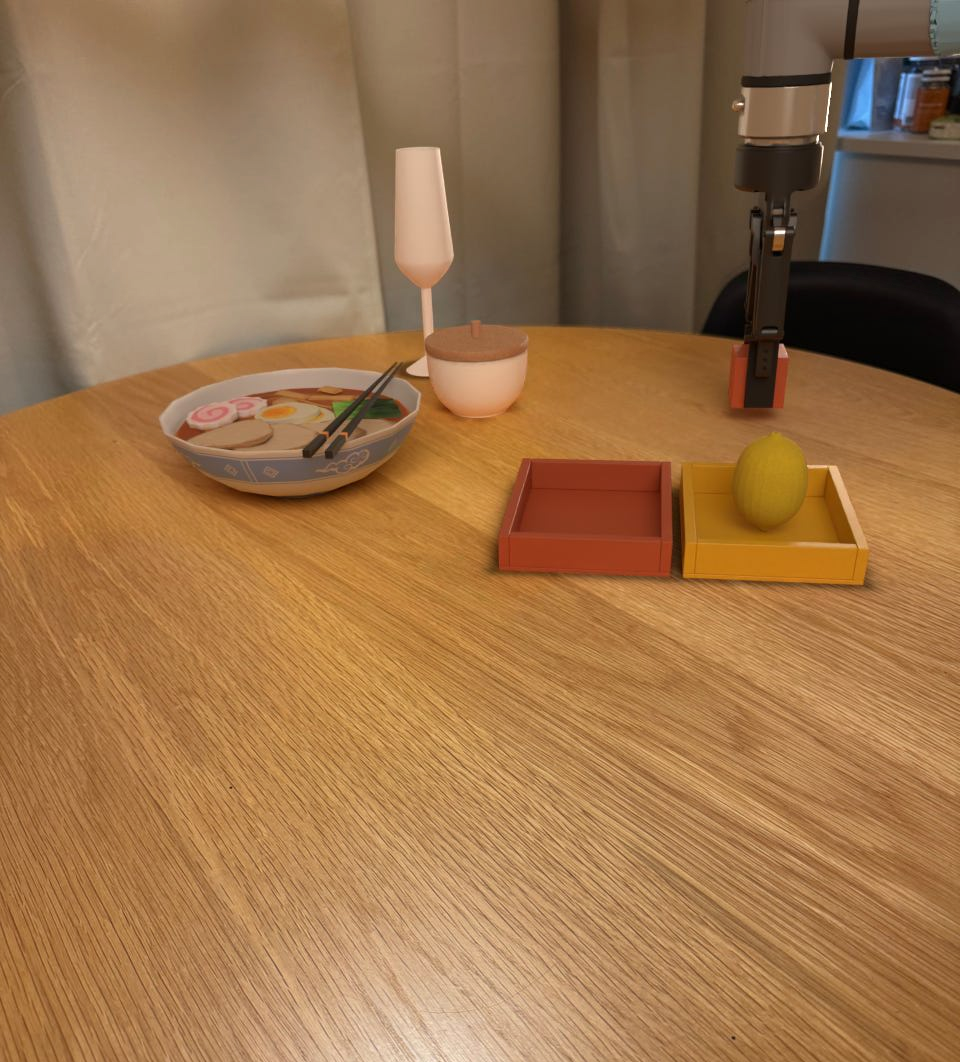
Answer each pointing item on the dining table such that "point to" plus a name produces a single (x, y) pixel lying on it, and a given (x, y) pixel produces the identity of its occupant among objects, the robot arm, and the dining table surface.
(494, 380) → the lidded sugar bowl
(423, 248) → the champagne flute
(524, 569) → the terracotta tray
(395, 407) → the ramen bowl
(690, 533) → the yellow tray
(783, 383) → the block
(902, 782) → the dining table surface
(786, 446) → the lemon
